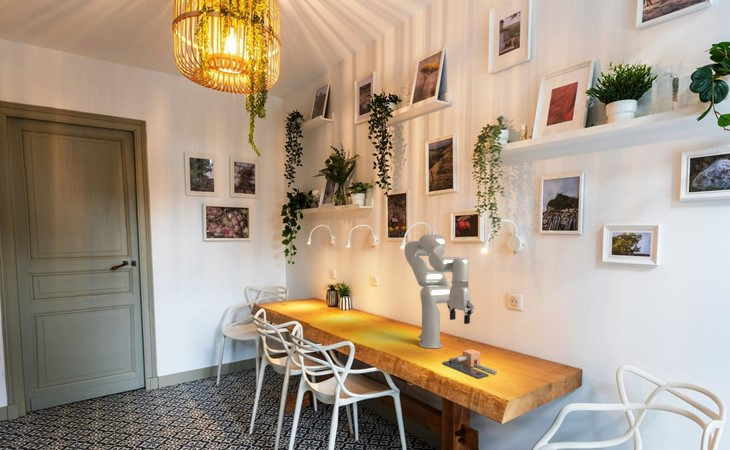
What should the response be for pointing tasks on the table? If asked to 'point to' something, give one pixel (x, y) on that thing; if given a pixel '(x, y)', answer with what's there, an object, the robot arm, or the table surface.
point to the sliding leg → (469, 358)
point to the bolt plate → (466, 369)
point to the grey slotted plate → (476, 366)
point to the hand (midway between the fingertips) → (459, 321)
